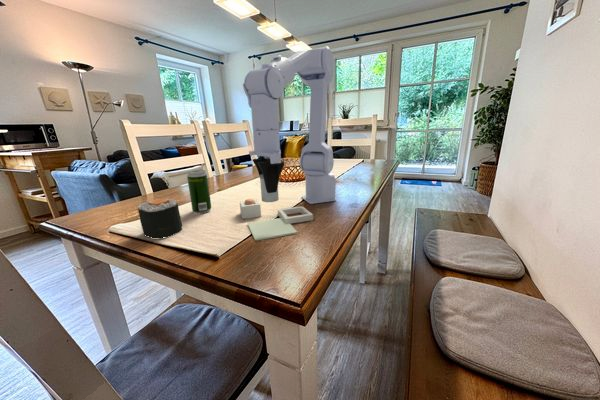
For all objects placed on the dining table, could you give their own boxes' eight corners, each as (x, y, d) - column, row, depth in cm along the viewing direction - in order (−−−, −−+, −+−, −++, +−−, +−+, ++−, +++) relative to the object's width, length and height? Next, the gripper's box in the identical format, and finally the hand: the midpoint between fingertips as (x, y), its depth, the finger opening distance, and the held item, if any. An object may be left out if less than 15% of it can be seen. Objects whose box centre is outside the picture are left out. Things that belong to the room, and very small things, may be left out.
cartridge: (275, 196, 61) (274, 172, 60) (280, 200, 58) (279, 175, 56) (259, 198, 60) (258, 174, 58) (263, 203, 56) (262, 177, 55)
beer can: (214, 211, 74) (209, 171, 70) (196, 215, 71) (189, 174, 67) (208, 206, 78) (202, 169, 74) (190, 210, 75) (184, 171, 71)
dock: (302, 210, 73) (302, 206, 72) (313, 219, 66) (313, 214, 66) (277, 214, 70) (277, 209, 70) (286, 224, 64) (285, 218, 63)
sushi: (167, 222, 66) (162, 194, 64) (188, 228, 62) (183, 198, 60) (136, 234, 59) (129, 203, 57) (158, 241, 56) (151, 208, 53)
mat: (284, 218, 67) (284, 217, 67) (297, 233, 58) (297, 231, 58) (247, 224, 64) (247, 223, 64) (255, 241, 55) (255, 239, 55)
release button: (253, 206, 72) (252, 198, 71) (255, 209, 70) (254, 200, 69) (245, 207, 71) (244, 199, 70) (246, 210, 69) (245, 202, 68)
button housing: (257, 210, 74) (256, 199, 73) (261, 216, 69) (260, 204, 68) (240, 212, 72) (239, 201, 71) (243, 218, 68) (242, 206, 67)
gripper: (242, 129, 59) (247, 184, 63) (254, 131, 46) (259, 200, 50) (271, 129, 62) (273, 182, 66) (289, 130, 49) (291, 196, 53)
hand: (269, 189), depth 58 cm, fingers closed on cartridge, 4 cm apart
